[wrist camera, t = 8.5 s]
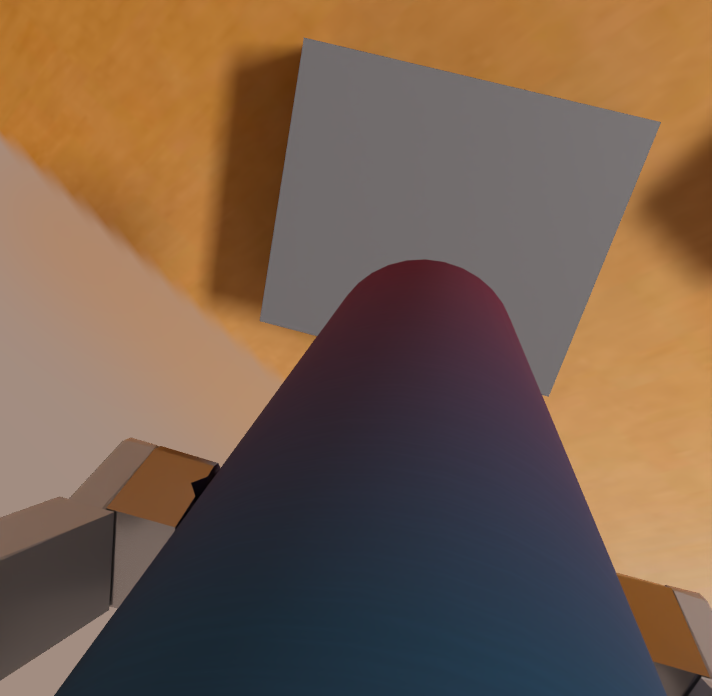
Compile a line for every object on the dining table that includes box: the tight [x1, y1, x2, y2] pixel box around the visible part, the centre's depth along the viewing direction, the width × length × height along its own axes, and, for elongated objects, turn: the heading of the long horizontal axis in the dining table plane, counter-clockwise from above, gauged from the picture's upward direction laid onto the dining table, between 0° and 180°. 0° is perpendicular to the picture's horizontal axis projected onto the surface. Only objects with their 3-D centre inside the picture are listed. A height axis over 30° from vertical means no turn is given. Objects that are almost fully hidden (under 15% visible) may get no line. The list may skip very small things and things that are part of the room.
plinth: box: [260, 38, 661, 397], centre depth 32 cm, size 16×14×5 cm
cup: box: [54, 259, 667, 696], centre depth 10 cm, size 7×7×15 cm
